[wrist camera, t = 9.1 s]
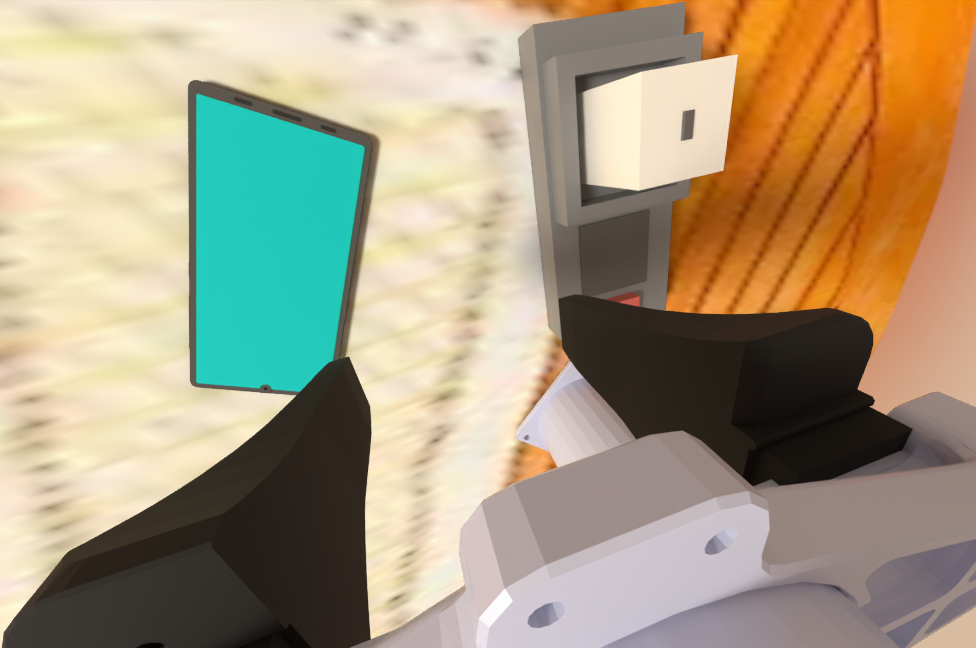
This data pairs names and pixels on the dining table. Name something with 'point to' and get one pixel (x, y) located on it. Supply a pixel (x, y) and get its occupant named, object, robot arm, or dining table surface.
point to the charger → (656, 125)
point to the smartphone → (268, 240)
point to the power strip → (555, 157)
